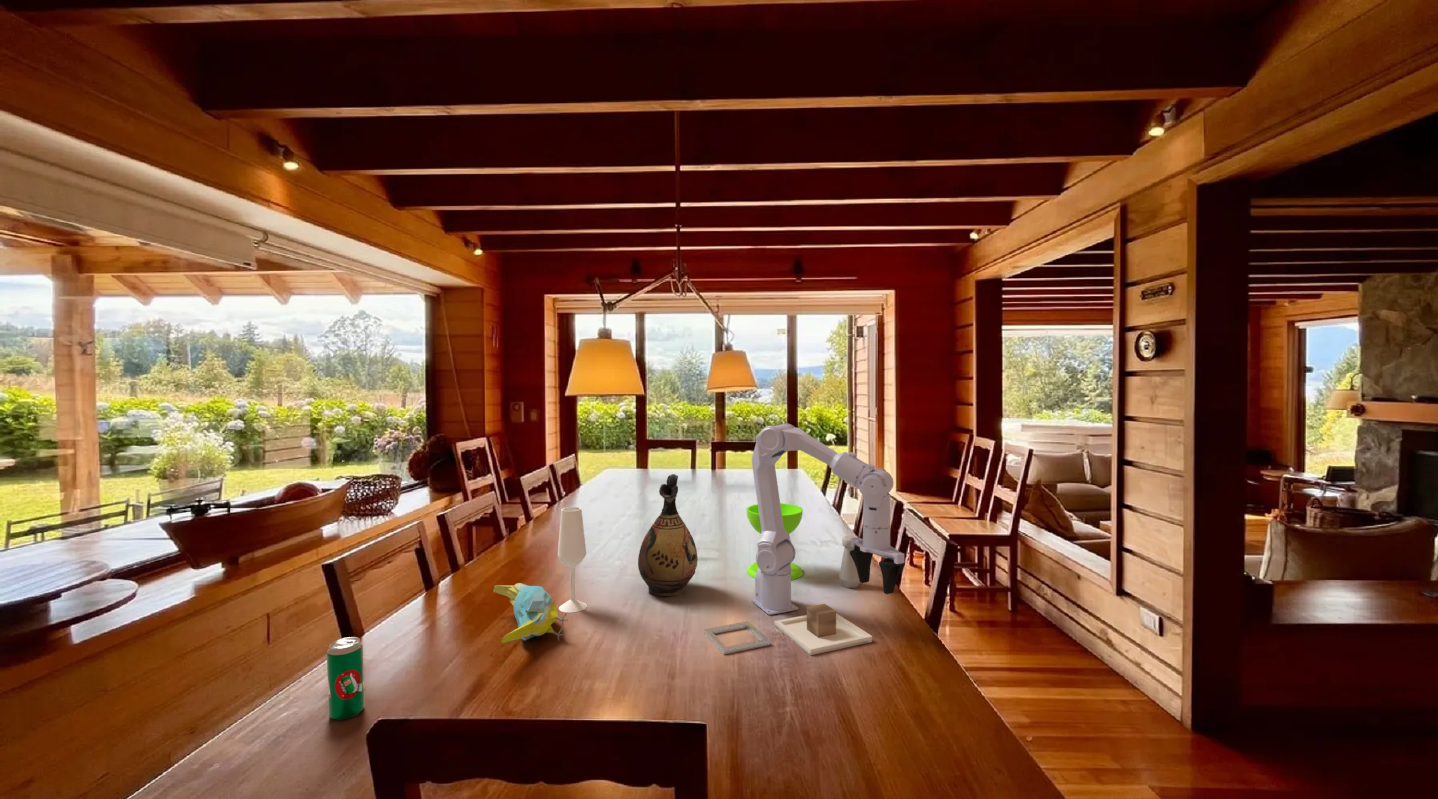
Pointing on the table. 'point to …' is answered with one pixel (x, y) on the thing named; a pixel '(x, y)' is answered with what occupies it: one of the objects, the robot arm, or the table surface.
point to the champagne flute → (571, 551)
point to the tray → (813, 645)
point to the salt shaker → (848, 566)
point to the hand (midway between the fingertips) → (876, 587)
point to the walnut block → (821, 620)
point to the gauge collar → (740, 647)
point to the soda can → (345, 678)
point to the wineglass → (790, 523)
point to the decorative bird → (530, 611)
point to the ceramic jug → (668, 548)
